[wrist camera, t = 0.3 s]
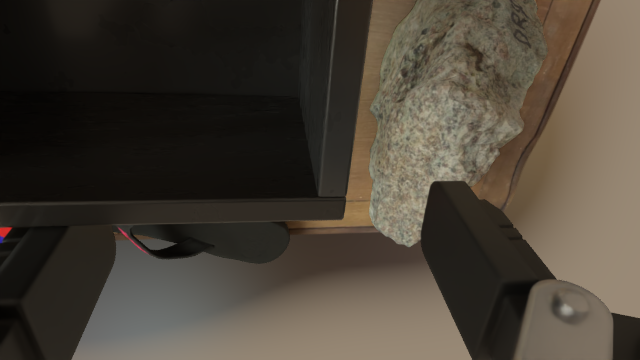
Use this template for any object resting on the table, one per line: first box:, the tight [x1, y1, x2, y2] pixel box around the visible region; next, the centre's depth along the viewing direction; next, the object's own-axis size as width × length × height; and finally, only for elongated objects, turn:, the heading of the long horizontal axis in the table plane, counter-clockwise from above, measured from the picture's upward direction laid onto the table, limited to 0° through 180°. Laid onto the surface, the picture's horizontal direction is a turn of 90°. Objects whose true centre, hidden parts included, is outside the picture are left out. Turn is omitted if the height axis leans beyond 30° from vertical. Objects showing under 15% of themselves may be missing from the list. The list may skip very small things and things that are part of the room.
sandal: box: [112, 221, 290, 264], centre depth 46 cm, size 10×25×6 cm, turn 64°
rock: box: [369, 0, 548, 247], centre depth 38 cm, size 20×19×15 cm
